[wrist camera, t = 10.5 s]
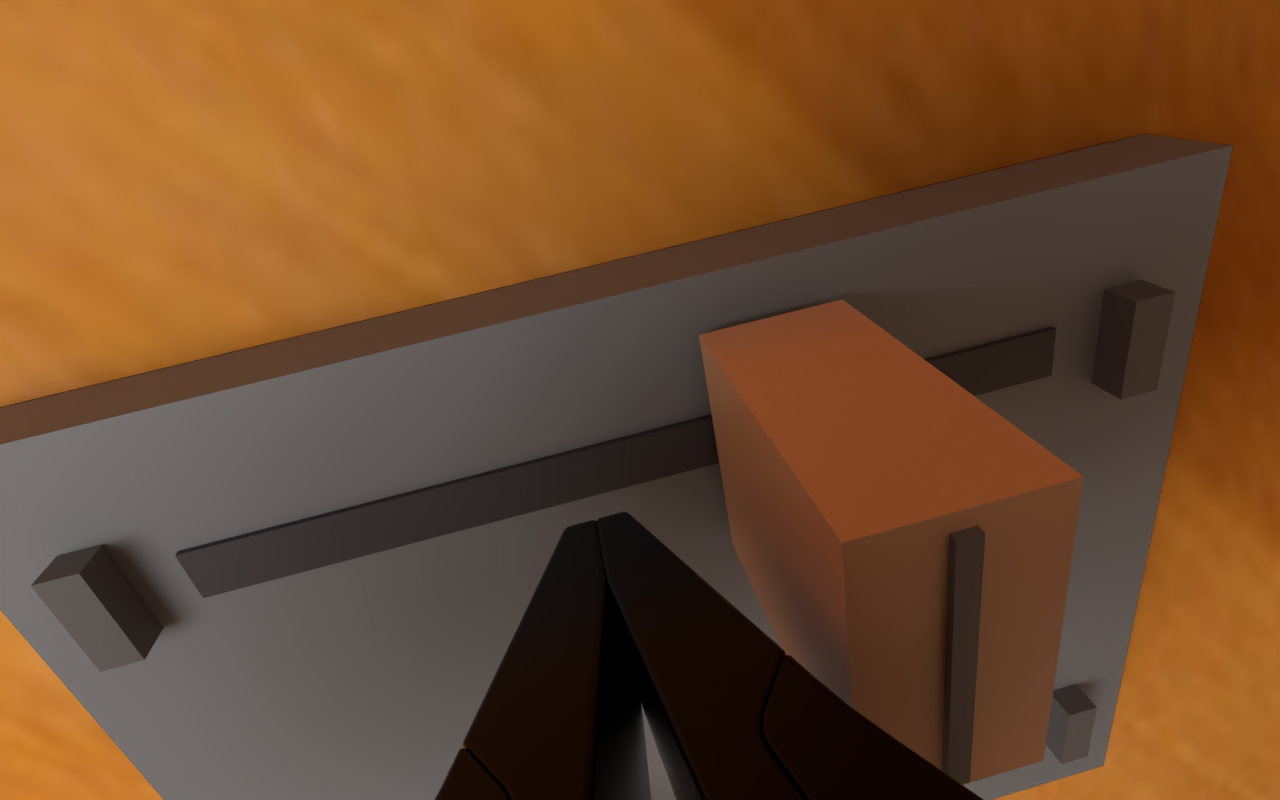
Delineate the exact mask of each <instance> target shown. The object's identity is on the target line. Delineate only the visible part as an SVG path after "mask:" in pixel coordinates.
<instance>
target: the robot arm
mask: <svg viewBox="0 0 1280 800" xmlns="http://www.w3.org/2000/svg"><path fill="white" fill-rule="evenodd" d="M641 704H642V705H641ZM642 707H643V710H644V713H645V716H646V718H647V721H648V724H649V726H650V729H651V732H652V735H653V737H654V740H655V743H656V746H657V748H658V751H659V754H660V757H661V759H662V762H663V765H664V767H665V770H666V773H667V776H668V778H669V781H670V784H671V787H672V789H673V792H674V795H675V797H676V800H984V799H982V798H981V797H979V796H978V795H976V794H975V793H974V792H972V791H971V790H969V789H968V788H966V787H965V786H963V785H962V784H960V783H959V782H958V781H956V780H955V779H953V778H952V777H950V776H949V775H947V774H946V773H944V772H943V771H942V770H940V769H939V768H937V767H936V766H934V765H933V764H931V763H930V762H928V761H927V760H926V759H924V758H923V757H921V756H920V755H918V754H917V753H915V752H914V751H912V750H911V749H909V748H908V747H907V746H905V745H904V744H902V743H901V742H899V741H898V740H896V739H895V738H894V737H892V736H891V735H889V734H888V733H887V732H885V731H884V730H882V729H881V728H880V727H878V726H877V725H876V724H874V723H873V722H871V721H870V720H869V719H867V718H866V717H865V716H863V715H862V714H860V713H859V712H858V711H856V710H855V709H853V708H852V707H851V706H849V705H848V704H847V703H846V702H845V701H843V700H842V699H841V698H840V697H839V696H837V695H836V694H835V693H834V692H832V691H831V690H830V689H829V688H828V687H826V686H825V685H824V684H823V683H821V682H820V681H819V680H818V679H817V678H815V677H814V676H813V675H812V674H811V673H810V672H809V671H807V670H806V669H805V668H804V667H803V666H802V665H801V664H799V663H798V662H797V661H796V660H795V659H794V658H793V657H792V656H790V655H786V653H785V651H784V650H783V649H782V648H781V647H780V646H779V645H778V644H776V643H775V642H774V641H773V640H772V639H771V638H770V637H768V636H767V635H766V634H765V633H764V632H763V631H762V630H761V629H759V628H758V627H757V626H756V625H755V624H754V623H753V622H751V621H750V620H749V619H748V618H747V617H746V616H745V615H744V614H742V613H741V612H740V611H739V610H738V609H737V608H736V607H734V606H733V605H732V604H731V603H730V602H729V601H728V600H727V599H725V598H724V597H723V596H722V595H721V594H720V593H719V592H717V591H716V590H715V589H714V588H713V587H712V586H711V585H710V584H708V583H707V582H706V581H705V580H704V579H703V578H702V577H700V576H699V575H698V574H697V573H696V572H695V571H694V570H693V569H691V568H690V567H689V566H688V565H687V564H686V563H685V562H683V561H682V560H681V559H680V558H679V557H678V556H677V555H676V554H674V553H673V552H672V551H671V550H670V549H669V548H668V547H666V546H665V545H664V544H663V543H662V542H661V541H660V540H659V539H657V538H656V537H655V536H654V535H653V534H652V533H651V532H649V531H648V530H647V529H646V528H645V527H644V526H643V525H642V524H640V523H639V522H638V521H637V520H636V519H635V518H634V517H632V516H631V515H630V514H629V513H627V512H620V513H616V514H613V515H609V516H605V517H602V518H599V519H598V520H597V521H595V520H590V521H587V522H583V523H579V524H575V525H572V526H569V527H567V528H566V529H565V530H564V531H563V533H562V535H561V537H560V540H559V542H558V544H557V546H556V548H555V550H554V552H553V554H552V556H551V558H550V561H549V563H548V565H547V567H546V569H545V571H544V573H543V575H542V577H541V579H540V582H539V584H538V586H537V588H536V590H535V592H534V594H533V596H532V598H531V600H530V603H529V605H528V607H527V609H526V611H525V613H524V615H523V617H522V619H521V621H520V624H519V626H518V628H517V630H516V632H515V634H514V636H513V638H512V640H511V642H510V644H509V647H508V649H507V651H506V653H505V655H504V657H503V659H502V661H501V663H500V665H499V668H498V670H497V672H496V674H495V676H494V678H493V680H492V682H491V684H490V686H489V689H488V691H487V693H486V695H485V697H484V699H483V701H482V703H481V705H480V707H479V710H478V712H477V714H476V716H475V718H474V720H473V722H472V724H471V726H470V728H469V731H468V733H467V735H466V737H465V739H464V741H463V747H464V748H461V749H460V750H459V751H458V753H457V755H456V757H455V759H454V761H453V763H452V765H451V768H450V770H449V772H448V774H447V776H446V778H445V780H444V782H443V784H442V786H441V788H440V790H439V792H438V794H437V796H436V798H435V800H651V791H650V782H649V772H648V762H647V752H646V742H645V732H644V722H643V713H642Z"/></svg>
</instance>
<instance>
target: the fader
mask: <svg viewBox="0 0 1280 800" xmlns="http://www.w3.org/2000/svg"><path fill="white" fill-rule="evenodd" d="M699 339H700V345H701V352H702V358H703V364H704V370H705V376H706V383H707V389H708V395H709V401H710V407H711V414H712V420H713V426H714V432H715V439H716V445H717V451H718V457H719V463H720V470H721V476H722V482H723V488H724V494H725V501H726V507H727V513H728V519H729V525H730V532H731V538H732V544H733V546H734V548H735V550H736V552H737V554H738V557H739V559H740V561H741V563H742V565H743V567H744V570H745V572H746V574H747V576H748V578H749V580H750V582H751V585H752V587H753V589H754V591H755V593H756V595H757V597H758V600H759V602H760V604H761V606H762V608H763V610H764V612H765V615H766V617H767V619H768V621H769V623H770V625H771V628H772V630H773V632H774V634H775V636H776V638H777V640H778V643H779V645H780V647H781V648H782V649H783V650H784V651H785V653H786V655H790V656H792V657H793V658H794V659H795V660H796V661H797V662H798V663H799V664H801V665H802V666H803V667H804V668H805V669H806V670H807V671H809V672H810V673H811V674H812V675H813V676H814V677H815V678H817V679H818V680H819V681H820V682H821V683H823V684H824V685H825V686H826V687H828V688H829V689H830V690H831V691H832V692H834V693H835V694H836V695H837V696H839V697H840V698H841V699H842V700H843V701H845V702H846V703H847V704H848V705H849V706H851V707H852V708H853V709H855V710H856V711H858V712H859V713H860V714H862V715H863V716H865V717H866V718H867V719H869V720H870V721H871V722H873V723H874V724H876V725H877V726H878V727H880V728H881V729H882V730H884V731H885V732H887V733H888V734H889V735H891V736H892V737H894V738H895V739H896V740H898V741H899V742H901V743H902V744H904V745H905V746H907V747H908V748H909V749H911V750H912V751H914V752H915V753H917V754H918V755H920V756H921V757H923V758H924V759H926V760H927V761H928V762H930V763H931V764H933V765H934V766H936V767H937V768H939V769H940V770H942V771H943V772H944V773H946V774H947V775H949V776H950V777H952V778H953V779H955V780H956V781H958V782H959V783H960V784H962V785H965V784H968V783H971V782H975V781H978V780H981V779H984V778H988V777H991V776H994V775H998V774H1001V773H1004V772H1008V771H1011V770H1014V769H1018V768H1021V767H1024V766H1027V765H1031V764H1034V763H1037V762H1041V761H1044V754H1045V747H1046V740H1047V733H1048V726H1049V718H1050V711H1051V704H1052V697H1053V690H1054V683H1055V676H1056V669H1057V662H1058V655H1059V648H1060V641H1061V634H1062V627H1063V620H1064V613H1065V605H1066V598H1067V591H1068V584H1069V577H1070V570H1071V563H1072V556H1073V549H1074V542H1075V535H1076V528H1077V521H1078V514H1079V507H1080V500H1081V492H1082V485H1083V478H1084V477H1083V476H1082V475H1081V474H1079V473H1078V472H1077V471H1075V470H1074V469H1073V468H1071V467H1070V466H1069V465H1067V464H1066V463H1064V462H1063V461H1062V460H1060V459H1059V458H1058V457H1056V456H1055V455H1054V454H1052V453H1051V452H1049V451H1048V450H1047V449H1045V448H1044V447H1043V446H1041V445H1040V444H1039V443H1037V442H1036V441H1034V440H1033V439H1032V438H1030V437H1029V436H1028V435H1026V434H1025V433H1024V432H1022V431H1021V430H1020V429H1018V428H1017V427H1015V426H1014V425H1013V424H1011V423H1010V422H1009V421H1007V420H1006V419H1005V418H1003V417H1002V416H1000V415H999V414H998V413H996V412H995V411H994V410H992V409H991V408H990V407H988V406H987V405H986V404H984V403H983V402H981V401H980V400H979V399H977V398H976V397H975V396H973V395H972V394H971V393H969V392H968V391H966V390H965V389H964V388H962V387H961V386H960V385H958V384H957V383H956V382H954V381H953V380H951V379H950V378H949V377H947V376H946V375H945V374H943V373H942V372H941V371H939V370H938V369H937V368H935V367H934V366H932V365H931V364H930V363H928V362H927V361H926V360H924V359H923V358H922V357H920V356H919V355H917V354H916V353H915V352H913V351H912V350H911V349H909V348H908V347H907V346H905V345H904V344H902V343H901V342H900V341H898V340H897V339H896V338H894V337H893V336H892V335H890V334H889V333H888V332H886V331H885V330H883V329H882V328H881V327H879V326H878V325H877V324H875V323H874V322H873V321H871V320H870V319H868V318H867V317H866V316H864V315H863V314H862V313H860V312H859V311H858V310H856V309H855V308H853V307H852V306H851V305H849V304H848V303H847V302H845V301H844V300H843V299H842V300H838V301H834V302H829V303H825V304H821V305H817V306H813V307H809V308H805V309H801V310H797V311H793V312H789V313H785V314H781V315H777V316H773V317H769V318H765V319H761V320H757V321H753V322H749V323H745V324H741V325H737V326H733V327H729V328H725V329H721V330H717V331H713V332H709V333H705V334H701V335H699Z"/></svg>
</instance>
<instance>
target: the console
mask: <svg viewBox="0 0 1280 800" xmlns="http://www.w3.org/2000/svg"><path fill="white" fill-rule="evenodd" d="M1232 148H1233V145H1226V144H1218V143H1211V142H1203V141H1195V140H1188V139H1180V138H1172V137H1165V136H1157V135H1150V134H1143V135H1138V136H1134V137H1130V138H1126V139H1122V140H1118V141H1113V142H1109V143H1105V144H1101V145H1097V146H1092V147H1088V148H1084V149H1080V150H1076V151H1072V152H1067V153H1063V154H1059V155H1055V156H1051V157H1046V158H1042V159H1038V160H1034V161H1030V162H1026V163H1021V164H1017V165H1013V166H1009V167H1005V168H1000V169H996V170H992V171H988V172H984V173H980V174H975V175H971V176H967V177H963V178H959V179H955V180H950V181H946V182H942V183H938V184H934V185H929V186H925V187H921V188H917V189H913V190H909V191H904V192H900V193H896V194H892V195H888V196H883V197H879V198H875V199H871V200H867V201H863V202H858V203H854V204H850V205H846V206H842V207H837V208H833V209H829V210H825V211H821V212H817V213H812V214H808V215H804V216H800V217H796V218H791V219H787V220H783V221H779V222H775V223H771V224H766V225H762V226H758V227H754V228H750V229H745V230H741V231H737V232H733V233H729V234H725V235H720V236H716V237H712V238H708V239H704V240H699V241H695V242H691V243H687V244H683V245H679V246H674V247H670V248H666V249H662V250H658V251H653V252H649V253H645V254H641V255H637V256H633V257H628V258H624V259H620V260H616V261H612V262H608V263H603V264H599V265H595V266H591V267H587V268H582V269H578V270H574V271H570V272H566V273H562V274H557V275H553V276H549V277H545V278H541V279H536V280H532V281H528V282H524V283H520V284H516V285H511V286H507V287H503V288H499V289H495V290H490V291H486V292H482V293H478V294H474V295H470V296H465V297H461V298H457V299H453V300H449V301H444V302H440V303H436V304H432V305H428V306H424V307H419V308H415V309H411V310H407V311H403V312H398V313H394V314H390V315H386V316H382V317H378V318H373V319H369V320H365V321H361V322H357V323H352V324H348V325H344V326H340V327H336V328H332V329H327V330H323V331H319V332H315V333H311V334H306V335H302V336H298V337H294V338H290V339H286V340H281V341H277V342H273V343H269V344H265V345H261V346H256V347H252V348H248V349H244V350H240V351H235V352H231V353H227V354H223V355H219V356H215V357H210V358H206V359H202V360H198V361H194V362H189V363H185V364H181V365H177V366H173V367H169V368H164V369H160V370H156V371H152V372H148V373H143V374H139V375H135V376H131V377H127V378H123V379H118V380H114V381H110V382H106V383H102V384H97V385H93V386H89V387H85V388H81V389H77V390H72V391H68V392H64V393H60V394H56V395H51V396H47V397H43V398H39V399H35V400H31V401H26V402H22V403H18V404H14V405H10V406H5V407H1V408H0V610H1V611H2V612H3V613H4V615H5V616H6V617H7V618H8V619H9V620H10V622H11V623H12V624H13V625H14V626H15V627H16V629H17V630H18V631H19V632H20V633H21V634H22V636H23V637H24V638H25V639H26V640H27V641H28V642H29V644H30V645H31V646H32V647H33V648H34V649H35V651H36V652H37V653H38V654H39V655H40V656H41V658H42V659H43V660H44V661H45V662H46V663H47V665H48V666H49V667H50V668H51V669H52V670H53V672H54V673H55V674H56V675H57V676H58V677H59V679H60V680H61V681H62V682H63V683H64V684H65V686H66V687H67V688H68V689H69V690H70V691H71V692H72V694H73V695H74V696H75V697H76V698H77V699H78V701H79V702H80V703H81V704H82V705H83V706H84V708H85V709H86V710H87V711H88V712H89V713H90V715H91V716H92V717H93V718H94V719H95V720H96V722H97V723H98V724H99V725H100V726H101V727H102V729H103V730H104V731H105V732H106V733H107V734H108V736H109V737H110V738H111V739H112V740H113V741H114V743H115V744H116V745H117V746H118V747H119V748H120V749H121V751H122V752H123V753H124V754H125V755H126V756H127V758H128V759H129V760H130V761H131V762H132V763H133V765H134V766H135V767H136V768H137V769H138V770H139V772H140V773H141V774H142V775H143V776H144V777H145V779H146V780H147V781H148V782H149V783H150V784H151V786H152V787H153V788H154V789H155V790H156V791H157V793H158V794H159V795H160V796H161V797H162V798H163V800H435V798H436V796H437V794H438V792H439V790H440V788H441V786H442V784H443V782H444V780H445V778H446V776H447V774H448V772H449V770H450V768H451V765H452V763H453V761H454V759H455V757H456V755H457V753H458V751H459V750H460V749H461V748H464V747H463V741H464V739H465V737H466V735H467V733H468V731H469V728H470V726H471V724H472V722H473V720H474V718H475V716H476V714H477V712H478V710H479V707H480V705H481V703H482V701H483V699H484V697H485V695H486V693H487V691H488V689H489V686H490V684H491V682H492V680H493V678H494V676H495V674H496V672H497V670H498V668H499V665H500V663H501V661H502V659H503V657H504V655H505V653H506V651H507V649H508V647H509V644H510V642H511V640H512V638H513V636H514V634H515V632H516V630H517V628H518V626H519V624H520V621H521V619H522V617H523V615H524V613H525V611H526V609H527V607H528V605H529V603H530V600H531V598H532V596H533V594H534V592H535V590H536V588H537V586H538V584H539V582H540V579H541V577H542V575H543V573H544V571H545V569H546V567H547V565H548V563H549V561H550V558H551V556H552V554H553V552H554V550H555V548H556V546H557V544H558V542H559V540H560V537H561V535H562V533H563V531H564V530H565V529H566V528H567V527H569V526H572V525H575V524H579V523H583V522H587V521H590V520H595V521H597V520H598V519H599V518H602V517H605V516H609V515H613V514H616V513H620V512H627V513H629V514H630V515H631V516H632V517H634V518H635V519H636V520H637V521H638V522H639V523H640V524H642V525H643V526H644V527H645V528H646V529H647V530H648V531H649V532H651V533H652V534H653V535H654V536H655V537H656V538H657V539H659V540H660V541H661V542H662V543H663V544H664V545H665V546H666V547H668V548H669V549H670V550H671V551H672V552H673V553H674V554H676V555H677V556H678V557H679V558H680V559H681V560H682V561H683V562H685V563H686V564H687V565H688V566H689V567H690V568H691V569H693V570H694V571H695V572H696V573H697V574H698V575H699V576H700V577H702V578H703V579H704V580H705V581H706V582H707V583H708V584H710V585H711V586H712V587H713V588H714V589H715V590H716V591H717V592H719V593H720V594H721V595H722V596H723V597H724V598H725V599H727V600H728V601H729V602H730V603H731V604H732V605H733V606H734V607H736V608H737V609H738V610H739V611H740V612H741V613H742V614H744V615H745V616H746V617H747V618H748V619H749V620H750V621H751V622H753V623H754V624H755V625H756V626H757V627H758V628H759V629H761V630H762V631H763V632H764V633H765V634H766V635H767V636H768V637H770V638H771V639H772V640H773V641H774V642H775V643H776V644H778V645H779V643H778V640H777V638H776V636H775V634H774V632H773V630H772V628H771V625H770V623H769V621H768V619H767V617H766V615H765V612H764V610H763V608H762V606H761V604H760V602H759V600H758V597H757V595H756V593H755V591H754V589H753V587H752V585H751V582H750V580H749V578H748V576H747V574H746V572H745V570H744V567H743V565H742V563H741V561H740V559H739V557H738V554H737V552H736V550H735V548H734V546H733V544H732V538H731V532H730V525H729V519H728V513H727V507H726V501H725V494H724V488H723V482H722V476H721V470H720V463H719V457H718V451H717V445H716V439H715V432H714V426H713V420H712V414H711V407H710V401H709V395H708V389H707V383H706V376H705V370H704V364H703V358H702V352H701V345H700V339H699V335H701V334H705V333H709V332H713V331H717V330H721V329H725V328H729V327H733V326H737V325H741V324H745V323H749V322H753V321H757V320H761V319H765V318H769V317H773V316H777V315H781V314H785V313H789V312H793V311H797V310H801V309H805V308H809V307H813V306H817V305H821V304H825V303H829V302H834V301H838V300H842V299H843V300H844V301H845V302H847V303H848V304H849V305H851V306H852V307H853V308H855V309H856V310H858V311H859V312H860V313H862V314H863V315H864V316H866V317H867V318H868V319H870V320H871V321H873V322H874V323H875V324H877V325H878V326H879V327H881V328H882V329H883V330H885V331H886V332H888V333H889V334H890V335H892V336H893V337H894V338H896V339H897V340H898V341H900V342H901V343H902V344H904V345H905V346H907V347H908V348H909V349H911V350H912V351H913V352H915V353H916V354H917V355H919V356H920V357H922V358H923V359H924V360H926V361H927V362H928V363H930V364H931V365H932V366H934V367H935V368H937V369H938V370H939V371H941V372H942V373H943V374H945V375H946V376H947V377H949V378H950V379H951V380H953V381H954V382H956V383H957V384H958V385H960V386H961V387H962V388H964V389H965V390H966V391H968V392H969V393H971V394H972V395H973V396H975V397H976V398H977V399H979V400H980V401H981V402H983V403H984V404H986V405H987V406H988V407H990V408H991V409H992V410H994V411H995V412H996V413H998V414H999V415H1000V416H1002V417H1003V418H1005V419H1006V420H1007V421H1009V422H1010V423H1011V424H1013V425H1014V426H1015V427H1017V428H1018V429H1020V430H1021V431H1022V432H1024V433H1025V434H1026V435H1028V436H1029V437H1030V438H1032V439H1033V440H1034V441H1036V442H1037V443H1039V444H1040V445H1041V446H1043V447H1044V448H1045V449H1047V450H1048V451H1049V452H1051V453H1052V454H1054V455H1055V456H1056V457H1058V458H1059V459H1060V460H1062V461H1063V462H1064V463H1066V464H1067V465H1069V466H1070V467H1071V468H1073V469H1074V470H1075V471H1077V472H1078V473H1079V474H1081V475H1082V476H1083V477H1084V478H1083V485H1082V492H1081V500H1080V507H1079V514H1078V521H1077V528H1076V535H1075V542H1074V549H1073V556H1072V563H1071V570H1070V577H1069V584H1068V591H1067V598H1066V605H1065V613H1064V620H1063V627H1062V634H1061V641H1060V648H1059V655H1058V662H1057V669H1056V676H1055V683H1054V690H1053V697H1052V704H1051V711H1050V718H1049V726H1048V733H1047V740H1046V747H1045V754H1044V761H1041V762H1037V763H1034V764H1031V765H1027V766H1024V767H1021V768H1018V769H1014V770H1011V771H1008V772H1004V773H1001V774H998V775H994V776H991V777H988V778H984V779H981V780H978V781H975V782H971V783H968V784H965V785H963V786H965V787H966V788H968V789H969V790H971V791H972V792H974V793H975V794H976V795H978V796H979V797H981V798H982V799H984V800H992V799H996V798H999V797H1002V796H1005V795H1009V794H1012V793H1015V792H1019V791H1022V790H1025V789H1028V788H1032V787H1035V786H1038V785H1042V784H1045V783H1048V782H1051V781H1055V780H1058V779H1061V778H1064V777H1068V776H1071V775H1074V774H1078V773H1081V772H1084V771H1087V770H1091V769H1094V768H1097V767H1101V766H1104V761H1105V757H1106V752H1107V747H1108V742H1109V737H1110V733H1111V728H1112V723H1113V718H1114V713H1115V709H1116V704H1117V699H1118V694H1119V689H1120V685H1121V680H1122V675H1123V670H1124V665H1125V661H1126V656H1127V651H1128V646H1129V641H1130V637H1131V632H1132V627H1133V622H1134V618H1135V613H1136V608H1137V603H1138V598H1139V594H1140V589H1141V584H1142V579H1143V574H1144V570H1145V565H1146V560H1147V555H1148V550H1149V546H1150V541H1151V536H1152V531H1153V526H1154V522H1155V517H1156V512H1157V507H1158V502H1159V498H1160V493H1161V488H1162V483H1163V478H1164V474H1165V469H1166V464H1167V459H1168V454H1169V450H1170V445H1171V440H1172V435H1173V431H1174V426H1175V421H1176V416H1177V411H1178V407H1179V402H1180V397H1181V392H1182V387H1183V383H1184V378H1185V373H1186V368H1187V363H1188V359H1189V354H1190V349H1191V344H1192V339H1193V335H1194V330H1195V325H1196V320H1197V315H1198V311H1199V306H1200V301H1201V296H1202V291H1203V287H1204V282H1205V277H1206V272H1207V268H1208V263H1209V258H1210V253H1211V248H1212V244H1213V239H1214V234H1215V229H1216V224H1217V220H1218V215H1219V210H1220V205H1221V200H1222V196H1223V191H1224V186H1225V181H1226V176H1227V172H1228V167H1229V162H1230V157H1231V152H1232ZM779 646H780V645H779ZM641 705H642V704H641ZM642 713H643V722H644V732H645V742H646V752H647V762H648V772H649V782H650V791H651V800H676V797H675V795H674V792H673V789H672V787H671V784H670V781H669V778H668V776H667V773H666V770H665V767H664V765H663V762H662V759H661V757H660V754H659V751H658V748H657V746H656V743H655V740H654V737H653V735H652V732H651V729H650V726H649V724H648V721H647V718H646V716H645V713H644V710H643V707H642Z"/></svg>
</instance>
